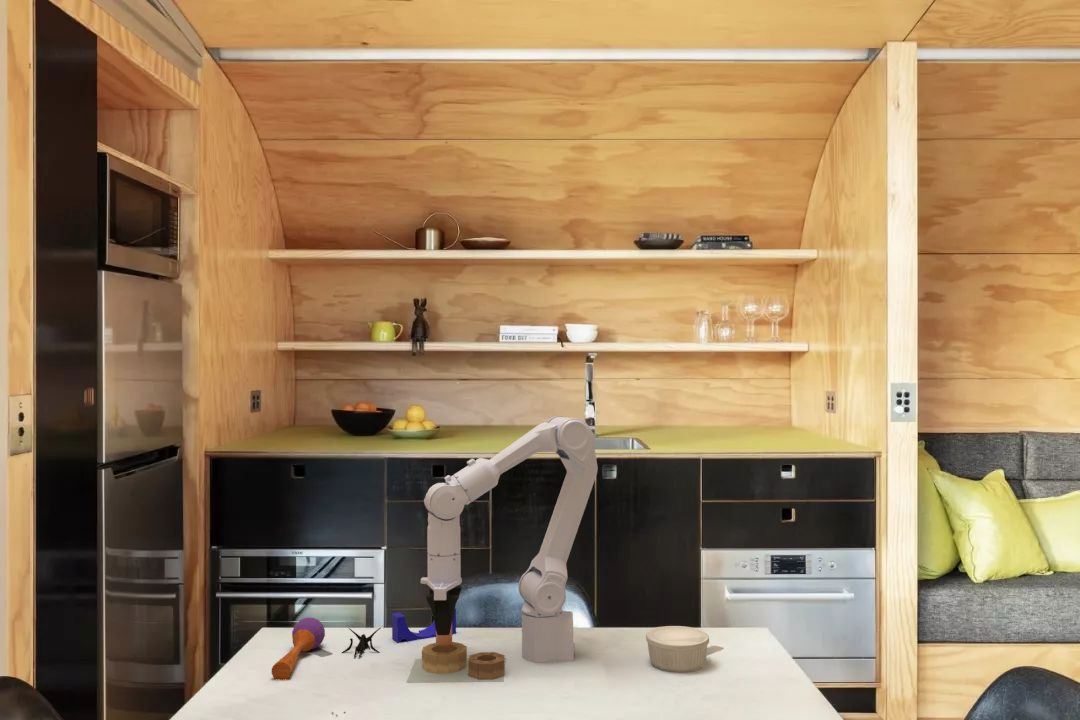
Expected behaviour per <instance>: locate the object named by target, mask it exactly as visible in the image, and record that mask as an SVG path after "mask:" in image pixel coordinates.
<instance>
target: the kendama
mask: <svg viewBox="0 0 1080 720" xmlns="http://www.w3.org/2000/svg"><path fill="white" fill-rule="evenodd" d="M325 631H326V630H325V627H324V625H323V623H322V622H321V621H320V619H318V618H315V617H304V618H302V619H299V621H298V622H297V623H295V625H294V627H293V629H292V630H291V632H292V634H291V636H292V637H291V638H292V645H293V646H294V647H293V648H292V649H291V650H289V651H288V652H287V653H286V654H285V655H283V657H281V658H280V659H279V660H278V661H277V662H275V664H273V666H272V667H271V675H272V678H274V679H275V680H276V679H280V681H281V679H282V681H284V680H285V679H286V680H288V679H289V678H290V676H291V674H292V671H293V669H294V667H295V665H296V662H297V660H298V658H299V655H300V654H301V652H308V651H312V650H315V649H317V648H318V647H319V646H320V645H321V644H322V643H323V641H324V639H325V637H326V632H325ZM311 649H312V650H311ZM283 679H284V680H283Z"/></svg>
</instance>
